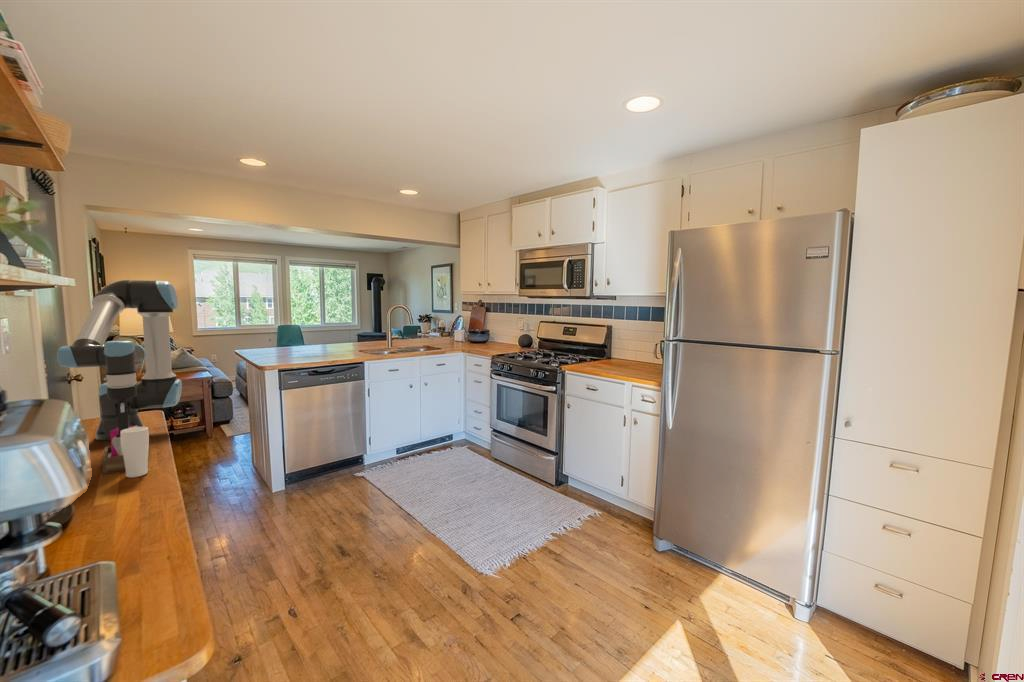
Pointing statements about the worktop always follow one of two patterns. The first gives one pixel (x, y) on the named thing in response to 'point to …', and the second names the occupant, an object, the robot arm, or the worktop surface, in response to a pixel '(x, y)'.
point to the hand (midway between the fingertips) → (125, 451)
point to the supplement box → (116, 441)
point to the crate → (112, 462)
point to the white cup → (135, 450)
